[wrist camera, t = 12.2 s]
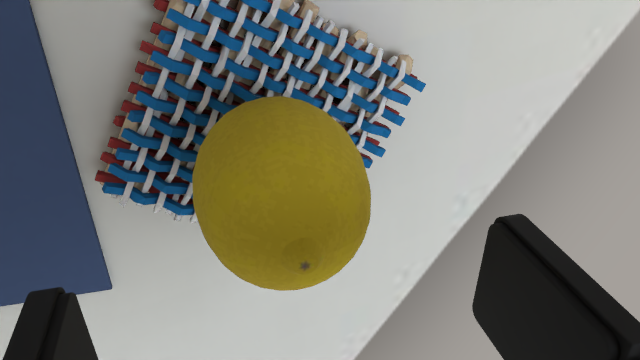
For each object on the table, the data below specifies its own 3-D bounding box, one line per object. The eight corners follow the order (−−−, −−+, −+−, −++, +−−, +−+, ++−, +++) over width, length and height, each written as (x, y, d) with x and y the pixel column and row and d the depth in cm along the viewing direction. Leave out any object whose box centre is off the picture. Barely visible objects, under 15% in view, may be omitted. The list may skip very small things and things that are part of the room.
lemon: (184, 70, 17) (182, 180, 10) (335, 64, 18) (422, 161, 12) (198, 203, 20) (203, 359, 13) (329, 190, 21) (396, 328, 14)
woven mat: (180, -70, 17) (179, -66, 15) (417, 58, 21) (438, 72, 19) (89, 177, 20) (80, 203, 19) (308, 242, 25) (317, 268, 23)
